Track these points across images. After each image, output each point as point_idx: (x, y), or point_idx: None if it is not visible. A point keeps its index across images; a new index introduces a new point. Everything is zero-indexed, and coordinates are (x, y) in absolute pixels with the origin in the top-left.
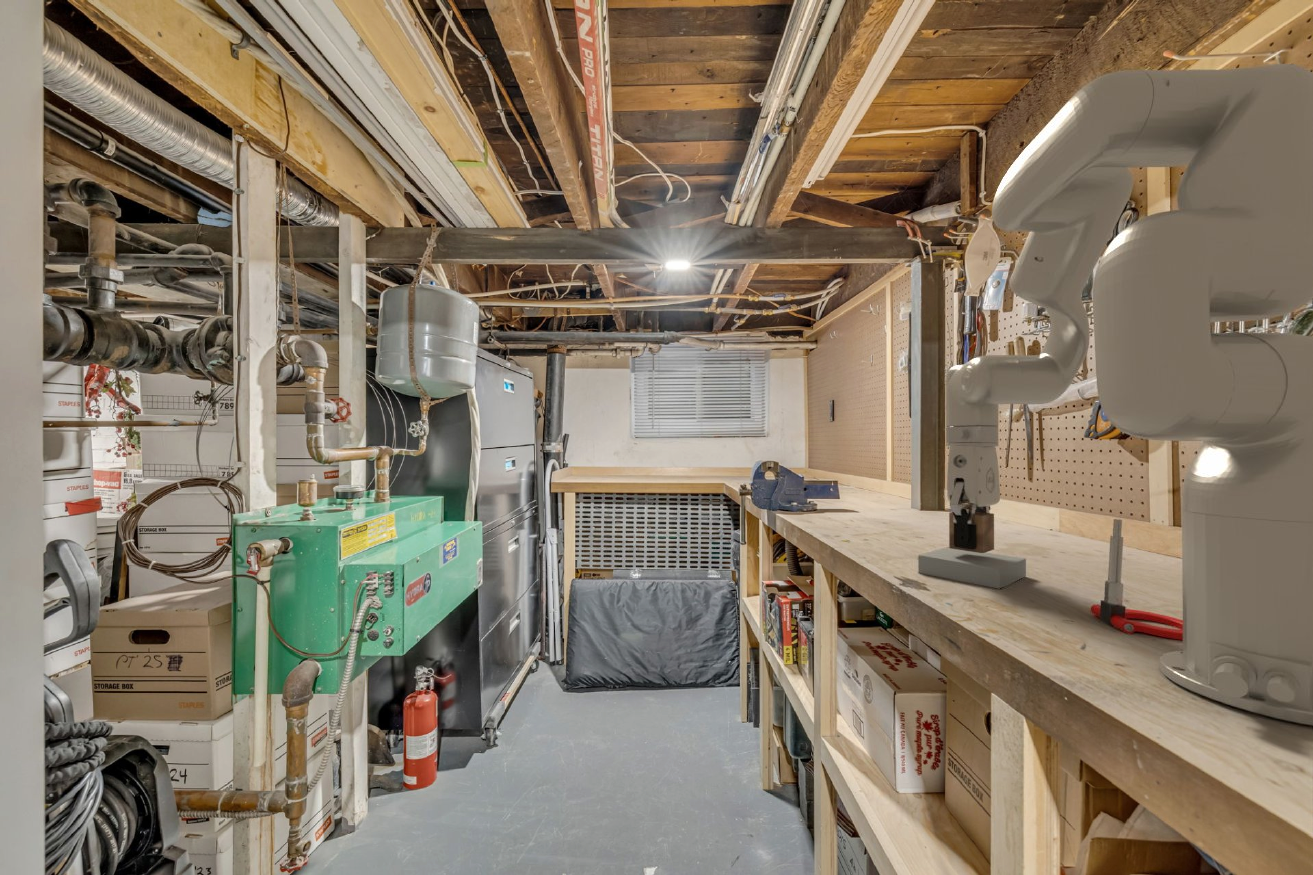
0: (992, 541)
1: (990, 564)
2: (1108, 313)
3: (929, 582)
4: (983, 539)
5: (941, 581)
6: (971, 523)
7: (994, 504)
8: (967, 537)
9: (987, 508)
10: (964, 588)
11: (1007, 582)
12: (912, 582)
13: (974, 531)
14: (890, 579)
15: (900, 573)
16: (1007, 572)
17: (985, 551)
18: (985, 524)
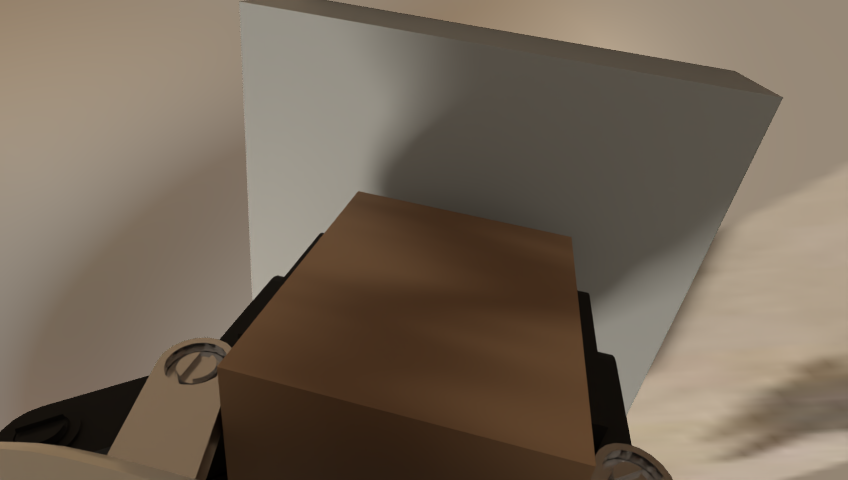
0: (368, 225)
1: (636, 164)
2: None
3: (770, 350)
4: (555, 286)
5: (713, 314)
6: (659, 467)
7: (116, 459)
8: (619, 384)
9: (159, 457)
10: (821, 218)
11: (603, 50)
12: (815, 401)
13: (596, 383)
14: (803, 465)
15: (650, 445)
16: (611, 60)
17: (515, 228)
18: (500, 359)
